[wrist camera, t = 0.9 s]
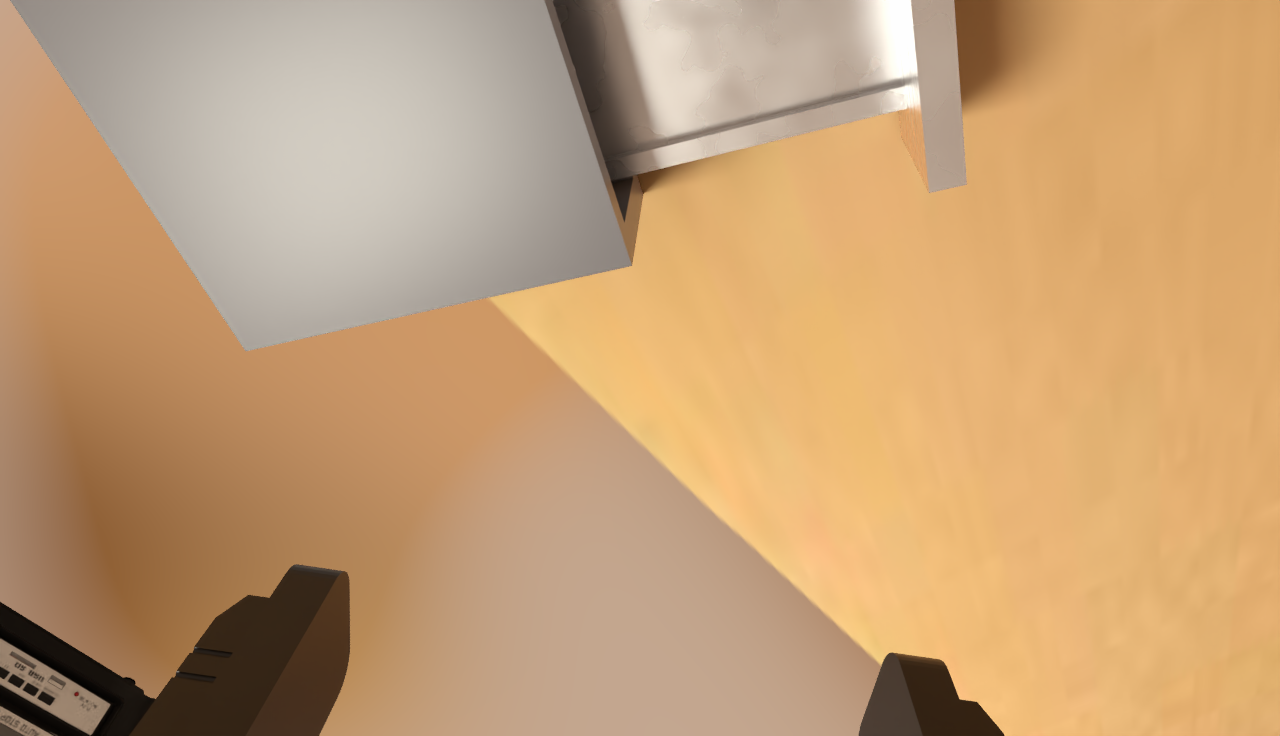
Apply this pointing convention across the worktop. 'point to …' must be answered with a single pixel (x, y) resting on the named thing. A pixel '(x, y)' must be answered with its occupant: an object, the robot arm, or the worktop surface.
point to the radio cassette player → (60, 687)
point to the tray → (764, 76)
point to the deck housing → (348, 149)
